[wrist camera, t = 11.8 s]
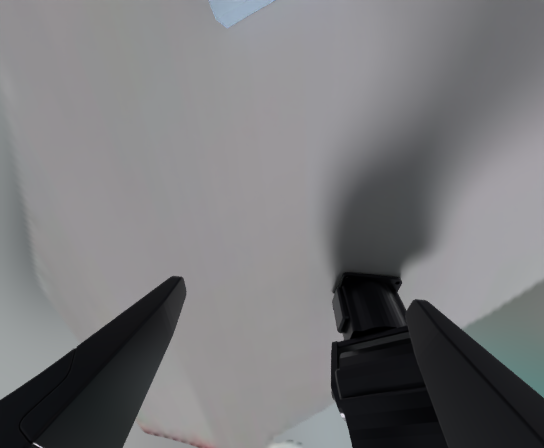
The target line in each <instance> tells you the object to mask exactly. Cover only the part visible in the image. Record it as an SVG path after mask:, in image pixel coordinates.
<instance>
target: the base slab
mask: <svg viewBox="0 0 544 448" xmlns="http://www.w3.org/2000/svg"><path fill="white" fill-rule="evenodd" d="M208 1H209V3H210V6H211V8H212V11H213V13H214V16H215V18H216V20H217V21H218V22H220V23H221V24H222V25H223V26H225V27H226V28H229V27H230V26H232V25H234V24H235V23H237V22H239V21H241V20H242V19H244V18H246V17H247V16H249V15H251V14H253V13H254V12H256V11H258V10H259V9H261V8H263V7H265V6H266V5H268V4H270V3H271V2H273V1H275V0H208Z"/></svg>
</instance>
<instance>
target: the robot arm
mask: <svg viewBox="0 0 544 448" xmlns="http://www.w3.org/2000/svg"><path fill="white" fill-rule="evenodd" d="M401 284H402V281H401V279H400V278H399V277H390V276H380V275H369V274H358V273H344V274H343V276H342V279H341V282H340V285H339V287H337V288H336V291H335V294H334V298H333V301H332V303H333V310H334V314H335V320H336V325H337V331H338V332H339V333H343V337H344V341H340V342H337V341H336V342H332V351H331V389H332V397H333V399H334V400H335V401H336V404H337V407H338V409H339V412H340V414H341V416H342V417H343V419H344V420H345V421H346V422H347V426H348V429H349V434H350V438H351V442H352V447H353V448H544V398H543V397H542V396H541V395H539V394H538V393H537V392H536V391H535V390H533V389H532V388H531V387H530V386H529V385H528V384H526V383H525V382H524V381H523V380H522V379H520V378H519V377H518V376H517V375H515V374H514V373H513V372H512V371H511V370H510V369H508V368H507V367H506V366H505V365H503V364H502V363H501V362H500V361H499V360H497V359H496V358H495V357H494V356H493V355H492V354H490V353H489V352H488V351H487V350H486V349H484V348H483V347H482V346H481V345H479V344H478V343H477V342H476V341H475V340H473V339H472V338H471V337H470V336H469V335H468V334H466V333H465V332H464V331H463V330H462V329H460V328H459V327H458V326H457V325H456V324H454V323H453V322H452V321H451V320H450V319H448V318H447V317H446V316H445V315H444V314H442V313H441V312H440V311H439V310H438V309H436V308H435V307H434V306H433V305H432V304H430V303H429V302H428V301H426V300H418V299H415V300H413V301H412V303H411V305H410V306H409V308H408V310H407V311H406V309H405V307H404V305H403V303H402V301H401V299H400V297H399V295H398V290H399V288H400V286H401ZM185 297H186V287H185V282H184V279H183V277H179V276H172V277H170V278H169V279H167V280H166V281H165V282H163V283H162V284H161V285H159V286H158V287H156V288H155V289H154V290H152V291H151V292H150V293H148V294H147V295H146V296H144V297H143V298H142V299H140V300H139V301H138V302H136V303H135V304H134V305H132V306H131V307H130V308H128V309H127V310H125V311H124V312H123V313H121V314H120V315H119V316H117V317H116V318H115V319H113V320H112V321H111V322H109V323H108V324H107V325H105V326H104V327H103V328H101V329H100V330H99V331H97V332H96V333H94V334H93V335H92V336H90V337H89V338H88V339H86V340H85V341H84V342H82V343H81V344H80V345H78V346H77V348H76V349H73V350H71V351H70V352H69V353H67V354H66V355H65V356H63V357H62V358H61V359H59V360H58V361H57V362H55V363H54V364H52V365H51V366H50V367H48V368H47V369H45V370H44V371H43V372H41V373H40V374H38V375H37V376H35V377H34V378H32V379H31V380H30V381H28V382H27V383H25V384H24V385H22V386H21V387H19V388H18V389H16V390H15V391H13V392H12V393H10V394H9V395H7V396H6V397H4V398H3V399H1V400H0V448H123V446H124V443H125V441H126V438H127V437H128V434H129V432H130V430H131V428H132V425H133V423H134V421H135V419H136V417H137V414H138V412H139V410H140V408H141V405H142V403H143V401H144V399H145V396H146V394H147V392H148V390H149V387H150V385H151V383H152V381H153V379H154V376H155V374H156V372H157V370H158V367H159V365H160V363H161V361H162V358H163V356H164V354H165V352H166V350H167V347H168V345H169V343H170V341H171V338H172V336H173V333H174V331H175V328H176V325H177V322H178V319H179V316H180V313H181V309H182V306H183V303H184V300H185Z"/></svg>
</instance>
